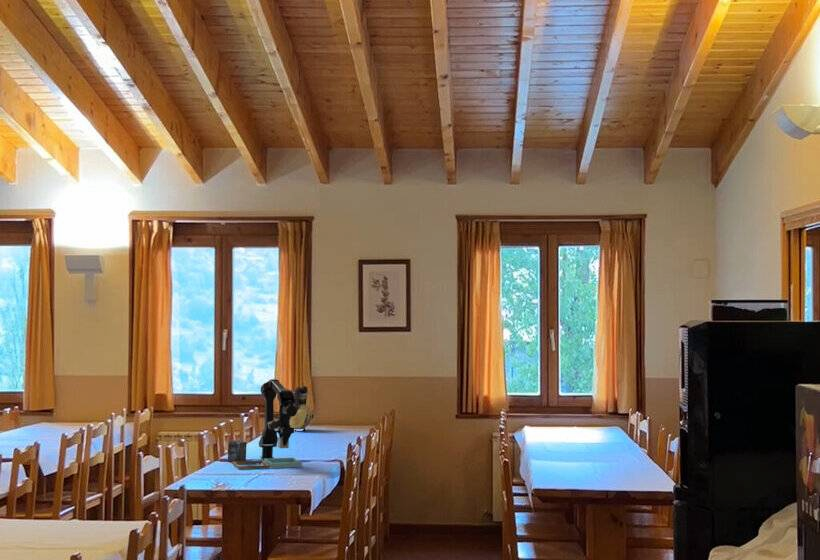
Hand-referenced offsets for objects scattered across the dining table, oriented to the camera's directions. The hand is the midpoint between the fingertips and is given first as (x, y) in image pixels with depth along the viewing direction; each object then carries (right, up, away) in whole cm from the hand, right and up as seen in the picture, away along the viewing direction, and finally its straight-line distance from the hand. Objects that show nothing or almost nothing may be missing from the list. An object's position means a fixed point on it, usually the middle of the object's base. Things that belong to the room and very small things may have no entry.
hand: (283, 445), depth 448 cm
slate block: (0, -1, 0) cm, 1 cm away
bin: (0, -10, -1) cm, 10 cm away
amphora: (-10, -17, +142) cm, 143 cm away
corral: (-16, -10, -7) cm, 19 cm away
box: (-25, -10, +6) cm, 28 cm away
